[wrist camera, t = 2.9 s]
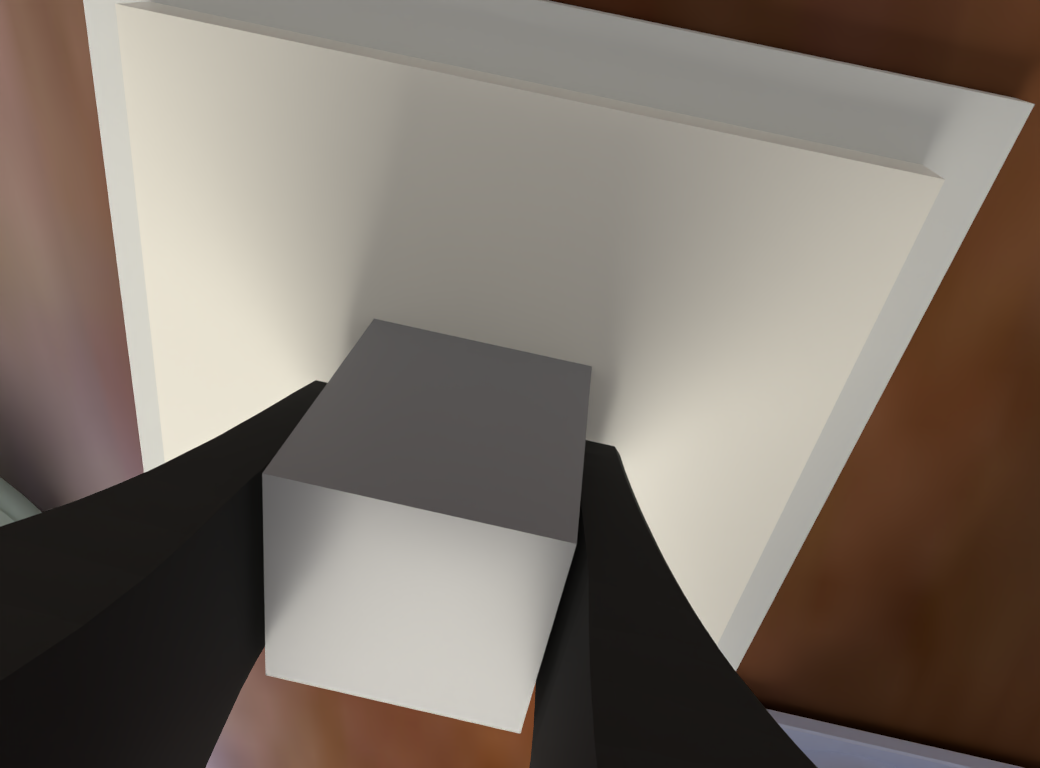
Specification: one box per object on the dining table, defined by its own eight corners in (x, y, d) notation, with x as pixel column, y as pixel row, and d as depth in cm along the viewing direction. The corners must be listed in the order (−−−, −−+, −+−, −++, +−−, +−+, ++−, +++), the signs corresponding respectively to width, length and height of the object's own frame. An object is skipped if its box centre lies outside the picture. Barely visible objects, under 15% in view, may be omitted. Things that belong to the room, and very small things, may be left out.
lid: (922, 165, 10) (1139, 305, 6) (686, 669, 15) (708, 923, 11) (150, 1, 10) (-186, 22, 6) (197, 558, 16) (44, 768, 12)
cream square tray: (1016, 98, 10) (1034, 103, 9) (714, 688, 16) (717, 707, 16) (94, -95, 10) (71, -98, 9) (169, 564, 17) (157, 579, 16)
